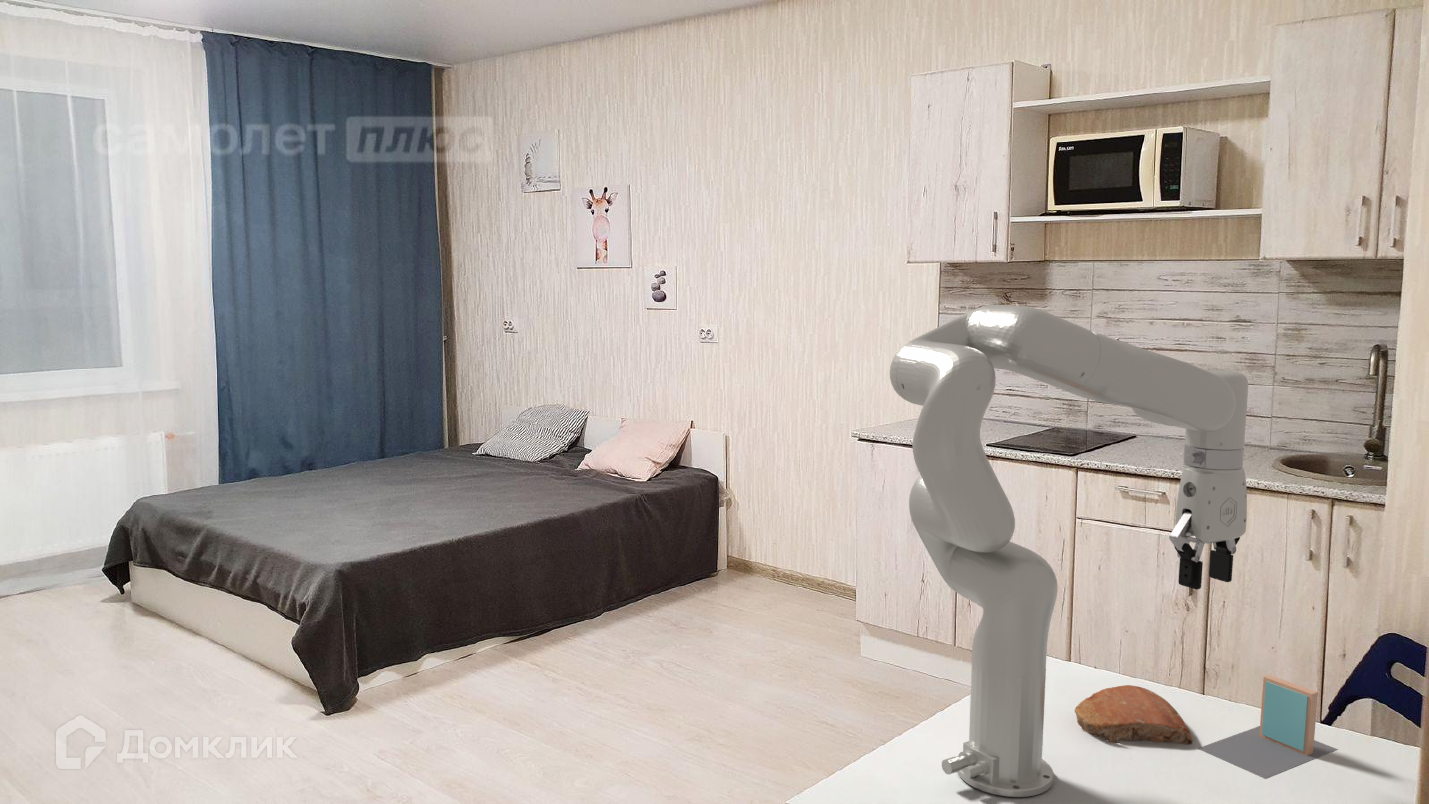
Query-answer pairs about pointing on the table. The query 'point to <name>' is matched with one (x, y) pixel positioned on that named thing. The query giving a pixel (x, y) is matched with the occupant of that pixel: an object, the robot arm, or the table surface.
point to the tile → (1288, 714)
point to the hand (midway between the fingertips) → (1205, 582)
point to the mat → (1261, 753)
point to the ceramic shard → (1131, 716)
